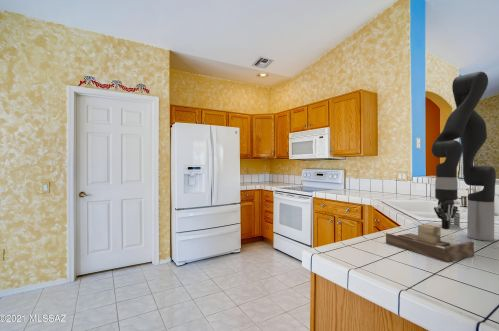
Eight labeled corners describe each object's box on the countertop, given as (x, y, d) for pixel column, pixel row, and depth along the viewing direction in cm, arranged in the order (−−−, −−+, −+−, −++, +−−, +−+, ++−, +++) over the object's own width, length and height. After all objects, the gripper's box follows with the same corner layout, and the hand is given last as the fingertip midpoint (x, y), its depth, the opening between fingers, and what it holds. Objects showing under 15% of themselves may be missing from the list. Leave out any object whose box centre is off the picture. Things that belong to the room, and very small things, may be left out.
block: (426, 238, 109) (426, 224, 109) (440, 241, 104) (440, 226, 104) (418, 239, 107) (418, 225, 107) (431, 243, 102) (431, 228, 102)
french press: (467, 230, 133) (467, 182, 134) (444, 229, 134) (444, 181, 134) (452, 225, 143) (452, 181, 143) (431, 225, 143) (431, 180, 144)
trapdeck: (410, 238, 117) (410, 227, 117) (474, 255, 95) (474, 242, 95) (385, 242, 110) (386, 231, 110) (447, 262, 88) (448, 247, 88)
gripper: (446, 189, 102) (446, 232, 102) (465, 188, 108) (465, 229, 108) (426, 187, 109) (426, 228, 109) (445, 186, 115) (445, 225, 115)
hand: (445, 228), depth 109 cm, fingers closed
